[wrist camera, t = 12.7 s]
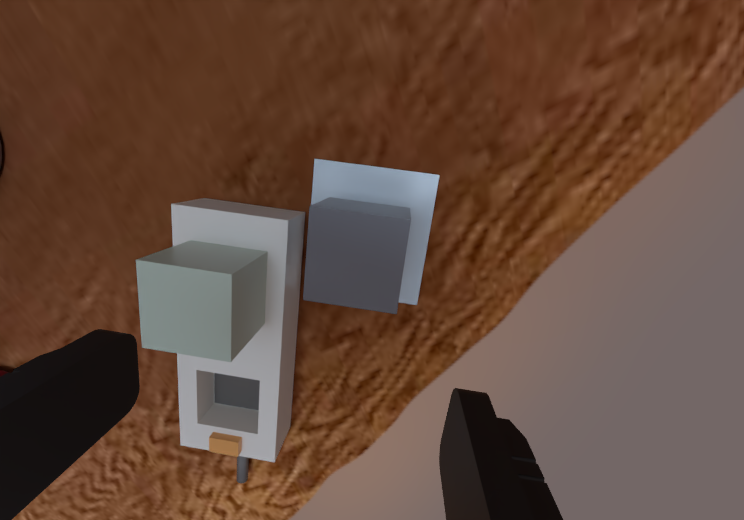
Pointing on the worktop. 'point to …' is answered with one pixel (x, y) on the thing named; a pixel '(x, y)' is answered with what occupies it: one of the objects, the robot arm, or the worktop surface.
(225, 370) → the power strip
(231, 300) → the block
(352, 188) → the blue tile
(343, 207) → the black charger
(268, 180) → the worktop surface
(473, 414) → the robot arm
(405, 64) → the worktop surface
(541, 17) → the worktop surface
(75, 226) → the worktop surface
